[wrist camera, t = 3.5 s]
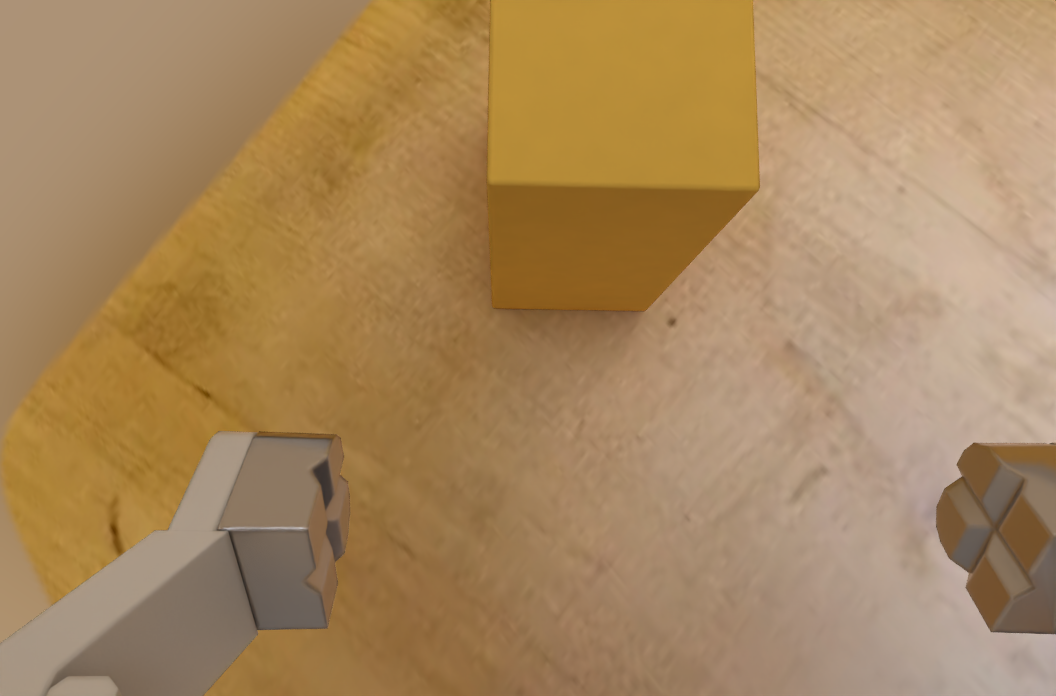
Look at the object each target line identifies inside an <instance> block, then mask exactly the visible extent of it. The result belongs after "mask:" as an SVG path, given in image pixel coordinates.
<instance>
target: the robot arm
mask: <svg viewBox="0 0 1056 696" xmlns="http://www.w3.org/2000/svg"><path fill="white" fill-rule="evenodd" d="M343 460H344V453H343V447H342V442H341V438H340V437H339V436H338V435H337V434H312V433H285V432H258V433H257V432H235V431H218V432H217V433H216V434H215V435H214V436H213V437H212V438H211V439H210V440H209V442H208V444H207V446H206V449H205V451H204V453H203V455H202V457H201V459H200V461H199V464H198V466H197V468H196V470H195V472H194V474H193V476H192V479H191V481H190V483H189V485H188V487H187V489H186V491H185V494H184V496H183V498H182V500H181V502H180V504H179V506H178V509H177V511H176V513H175V515H174V517H173V519H172V521H171V524H170V526H169V528H168V530H155V531H153V532H152V533H151V534H149V535H148V536H146V537H145V538H144V539H142V540H141V541H140V542H138V543H137V544H136V545H134V546H133V547H131V548H130V549H129V550H127V551H126V552H125V553H123V554H122V555H120V556H119V557H118V558H116V559H115V560H114V561H112V562H111V563H109V564H108V565H107V566H105V567H104V568H103V569H101V570H100V571H98V572H97V573H96V574H94V575H93V576H92V577H90V578H89V579H87V580H86V581H85V582H83V583H82V584H81V585H79V586H78V587H77V588H75V589H74V590H72V591H71V592H70V593H68V594H67V595H66V596H64V597H63V598H61V599H60V600H59V601H57V602H56V603H55V604H53V605H52V606H50V607H49V608H48V609H46V610H45V611H44V612H42V613H41V614H40V615H38V616H37V617H35V618H34V619H33V620H31V621H30V622H28V623H27V624H26V625H24V626H23V627H22V628H20V629H19V630H18V631H16V632H15V633H13V634H12V635H11V636H9V637H8V638H7V639H5V640H4V641H3V642H1V643H0V696H203V695H204V694H205V693H206V692H207V691H208V690H209V689H210V687H211V686H212V685H213V684H214V683H215V682H216V681H217V680H218V678H219V677H220V676H221V675H222V674H223V673H224V672H225V671H226V670H227V668H228V667H229V666H230V665H231V664H232V663H233V662H234V661H235V659H236V658H237V657H238V656H239V655H240V654H241V653H242V652H243V651H244V649H245V648H246V647H247V646H248V645H249V644H250V643H251V642H252V640H253V639H254V638H255V637H256V636H257V635H258V631H257V630H279V629H325V628H328V625H329V621H330V617H331V612H332V608H333V603H334V599H335V594H336V590H337V586H338V579H337V573H336V567H335V562H336V561H337V560H338V559H339V558H340V557H341V556H342V555H343V554H344V553H345V549H346V544H347V539H348V533H349V522H350V493H349V486H348V481H347V480H346V479H344V478H343V477H342V476H341V475H340V472H341V468H342V464H343ZM957 466H958V469H959V471H960V473H961V475H962V477H961V478H959V479H958V480H956V481H955V482H953V483H952V484H950V485H949V486H947V487H946V488H945V489H944V491H943V493H942V495H941V498H940V500H939V502H938V504H937V507H936V528H937V531H938V535H939V539H940V542H941V544H942V546H943V548H944V550H945V552H946V553H947V555H948V557H949V559H951V560H952V561H953V562H955V563H956V564H957V565H959V566H960V567H962V568H963V569H964V570H966V571H967V572H968V573H969V575H968V579H967V583H966V589H967V591H968V593H969V594H970V596H971V598H972V600H973V601H974V603H975V605H976V607H977V608H978V610H979V612H980V614H981V615H982V617H983V619H984V621H985V622H986V624H987V626H988V628H989V629H990V631H991V632H1004V633H1034V634H1056V443H1050V444H1047V443H973V444H972V445H970V446H969V447H968V448H967V449H965V450H964V451H963V453H962V455H961V457H960V459H959V461H958V463H957Z"/></svg>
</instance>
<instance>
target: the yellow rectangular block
mask: <svg viewBox="0 0 1056 696" xmlns="http://www.w3.org/2000/svg"><path fill="white" fill-rule="evenodd" d="M759 188H760V177H759V150H758V124H757V97H756V70H755V44H754V17H753V0H490V32H489V84H488V136H487V200H488V223H489V246H490V269H491V292H492V306H493V308H498V309H556V310H613V311H645V310H647V309H648V308H649V306H650V305H651V304H652V303H653V302H654V301H655V300H656V299H657V298H658V297H659V296H660V295H661V294H662V293H663V292H664V291H665V289H666V288H667V287H668V286H669V285H670V284H671V283H672V282H673V281H674V280H675V279H676V278H677V277H678V276H679V275H680V273H681V272H682V271H683V270H684V269H685V268H686V267H687V266H688V265H689V264H690V263H691V262H692V261H693V260H694V259H695V258H696V256H697V255H698V254H699V253H700V252H701V251H702V250H703V249H704V248H705V247H706V246H707V245H708V244H709V243H710V242H711V240H712V239H713V238H714V237H715V236H716V235H717V234H718V233H719V232H720V231H721V230H722V229H723V228H724V227H725V226H726V225H727V223H728V222H729V221H730V220H731V219H732V218H733V217H734V216H735V215H736V214H737V213H738V212H739V211H740V210H741V209H742V207H743V206H744V205H745V204H746V203H747V202H748V201H749V200H750V199H751V198H752V197H753V196H754V195H755V194H756V193H757V192H758V190H759Z"/></svg>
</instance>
